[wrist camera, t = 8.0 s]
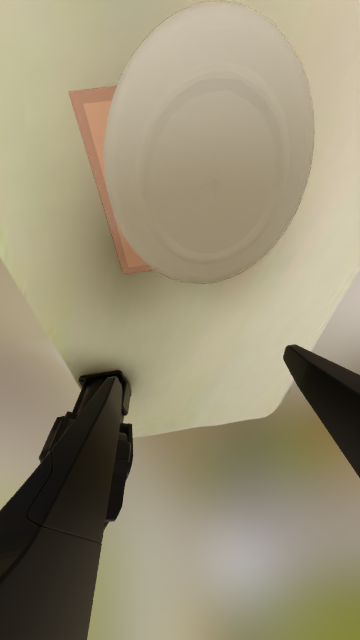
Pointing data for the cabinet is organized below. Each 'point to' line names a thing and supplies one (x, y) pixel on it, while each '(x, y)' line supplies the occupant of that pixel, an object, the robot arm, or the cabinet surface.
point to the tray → (92, 125)
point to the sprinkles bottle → (209, 142)
